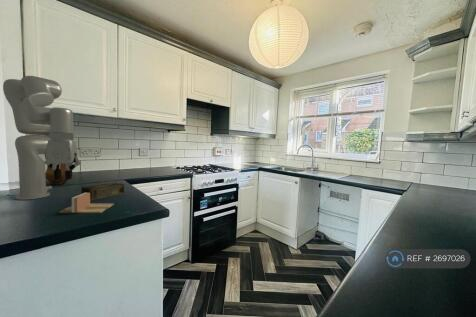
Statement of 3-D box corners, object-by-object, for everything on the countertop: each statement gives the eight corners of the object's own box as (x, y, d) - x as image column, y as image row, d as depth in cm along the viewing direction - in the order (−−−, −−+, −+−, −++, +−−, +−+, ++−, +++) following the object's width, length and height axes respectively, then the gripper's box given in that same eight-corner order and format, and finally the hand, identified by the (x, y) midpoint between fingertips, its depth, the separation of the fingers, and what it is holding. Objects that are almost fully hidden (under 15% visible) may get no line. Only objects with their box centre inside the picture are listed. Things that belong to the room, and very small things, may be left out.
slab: (85, 205, 92) (85, 192, 92) (90, 205, 93) (89, 192, 92) (71, 212, 83) (71, 198, 83) (77, 212, 84) (76, 198, 83)
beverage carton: (125, 193, 118) (125, 182, 117) (88, 201, 101) (88, 188, 100) (116, 192, 121) (116, 181, 121) (80, 199, 104) (79, 186, 104)
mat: (77, 204, 95) (77, 203, 95) (114, 204, 97) (114, 203, 97) (58, 213, 83) (58, 211, 83) (100, 213, 85) (100, 211, 85)
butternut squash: (47, 183, 136) (46, 146, 134) (72, 181, 144) (72, 146, 142) (43, 187, 124) (42, 146, 123) (71, 185, 133) (71, 147, 131)
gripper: (33, 136, 82) (34, 180, 83) (77, 137, 84) (78, 181, 85) (48, 136, 89) (49, 177, 91) (88, 138, 92) (89, 178, 93)
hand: (63, 178), depth 88 cm, fingers open, 3 cm apart
